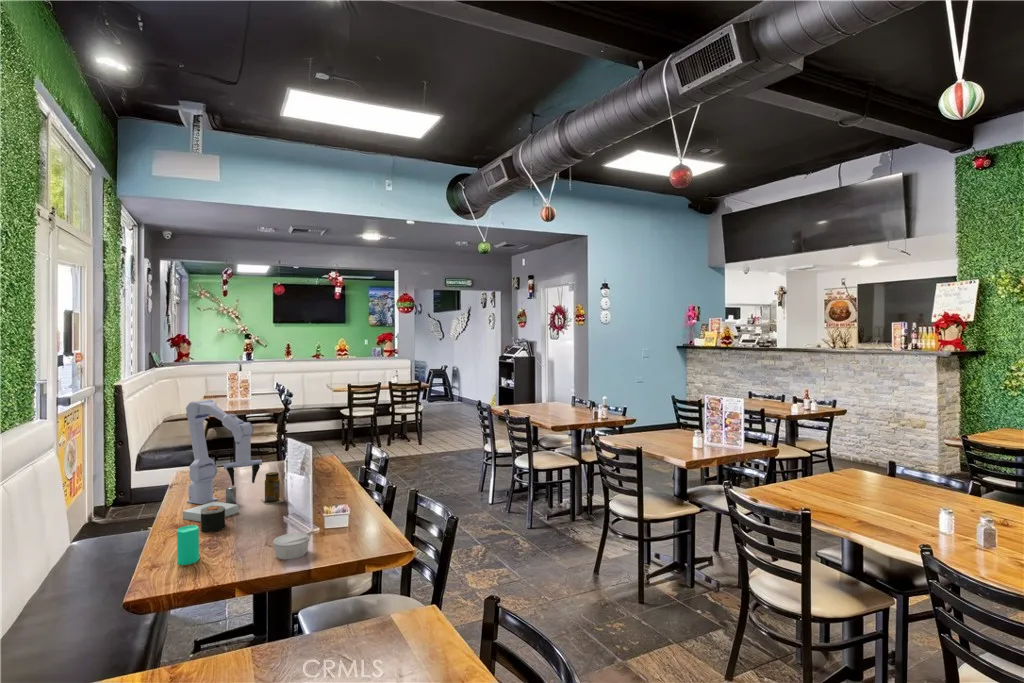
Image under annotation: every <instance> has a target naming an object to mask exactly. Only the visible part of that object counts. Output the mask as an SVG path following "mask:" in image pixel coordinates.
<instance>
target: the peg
mask: <svg viewBox="0 0 1024 683" xmlns="http://www.w3.org/2000/svg"><path fill="white" fill-rule="evenodd" d="M225 503H229V504H236V505H237V487H236V486H229V487H226V488H225Z"/></svg>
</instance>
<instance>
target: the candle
mask: <svg viewBox="0 0 1024 683" xmlns="http://www.w3.org/2000/svg"><path fill="white" fill-rule="evenodd" d="M199 528H200V527H199V526H198V525H194V524H190V525H189V524H188V525H186V526H181V527H178V528H177V530H176V553H177V554H176V561H177V565H180V566H187V565H191V564H194V563H197V562H198V561H199V560H200V530H199Z"/></svg>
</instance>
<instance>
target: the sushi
mask: <svg viewBox="0 0 1024 683" xmlns="http://www.w3.org/2000/svg"><path fill="white" fill-rule="evenodd" d="M200 513H201V522H200V531H201V533H203V534H204V533H207V534H208V533H212V532H213V533H215V532H219V531H221V530H223V529H225V528H226V517H225V507H223V506H211V507H208V508H207V507H206V508H203V509H201V512H200Z"/></svg>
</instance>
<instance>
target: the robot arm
mask: <svg viewBox="0 0 1024 683" xmlns="http://www.w3.org/2000/svg"><path fill="white" fill-rule="evenodd" d="M185 410H186V411H185V412H186V416H187V423H188V429H189V435H190V440H191V446H192V447H191V448H192V452H193V459H194V460H193V462H192V463H191V464H190V465H189V467H188V468H189V472H188V473H189V474H188V476H189V479H190V481H191V482H190V483H189V485H188V500H186V502H187V503H190V504H191V503H192V504H198V505H204V504H207V503H210V502H213V501H217V500H218V499H219V498H217V497H214V480H215V477H216V476H217V474H218V467H217V466H216V464H215V460H214V459H212V458H211V457H209V453H208V452H209V451H208V445H207V439H206V435H205V434H206V433H205V429H204V422H205V420H206V419H207V418H208V417H210V416H212V417H214V418H215V419H218V420H219V421H221V424H222V426H223V427H224V428H226V429H228V430H229V431H231V433H232V436H233V438H234V442H235V461H234V462H227V463H223V469H224V470H226V471H227V473H228V475H229V478H230V481H231V487H235V468H236V469H237V468H243V467H246V468H247V467H251V483H252V484H255V482H256V477H257V475H258V472H259V470H260V466H262V465H263V459H255V460H253V459H251V458H252V455H251V454H252V452H251V451H252V450H251V447H252V446H251V444H252V442H251V441H252V440H251V439H252V438H251V437H252V435H253V434H254V432H255V429H254V428H255V427H254V425H253V424H252V423H251V422H250V421H244V420H243V419H240V418H238V417H237V416H236V414H235V413H234V414H233V413H229V414H228V413H227V412H225V411H224V410H223V409H222V408H220V407H219V406H218V405H217V402H216V401H214V400H213V399H211V398H210V399H203V400H198V401H197V400H196V401H194V400H193V401H190V402H189V403H188V404H187V405H186V408H185Z"/></svg>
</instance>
